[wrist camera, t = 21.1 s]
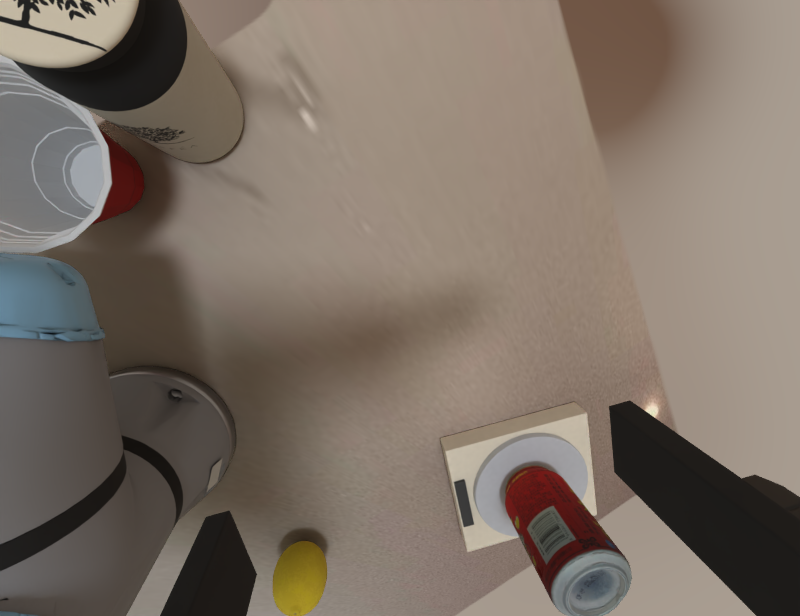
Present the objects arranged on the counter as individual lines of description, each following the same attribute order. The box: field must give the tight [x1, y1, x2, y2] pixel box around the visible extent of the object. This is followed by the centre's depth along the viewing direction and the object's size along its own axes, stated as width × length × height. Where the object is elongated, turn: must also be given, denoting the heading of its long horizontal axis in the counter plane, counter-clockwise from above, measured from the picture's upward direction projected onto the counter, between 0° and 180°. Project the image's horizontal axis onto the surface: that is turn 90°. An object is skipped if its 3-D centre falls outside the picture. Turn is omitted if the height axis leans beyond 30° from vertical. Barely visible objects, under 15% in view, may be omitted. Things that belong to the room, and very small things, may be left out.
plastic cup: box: [0, 56, 145, 253], centre depth 27 cm, size 11×11×12 cm
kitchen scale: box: [440, 402, 597, 552], centre depth 44 cm, size 16×14×3 cm
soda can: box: [505, 465, 632, 616], centre depth 37 cm, size 7×7×12 cm
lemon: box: [273, 541, 327, 616], centre depth 41 cm, size 6×6×8 cm
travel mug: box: [0, 0, 243, 163], centre depth 24 cm, size 8×8×18 cm
